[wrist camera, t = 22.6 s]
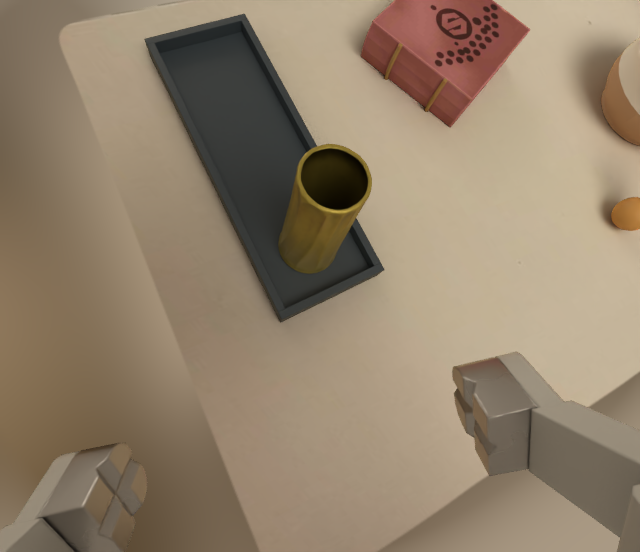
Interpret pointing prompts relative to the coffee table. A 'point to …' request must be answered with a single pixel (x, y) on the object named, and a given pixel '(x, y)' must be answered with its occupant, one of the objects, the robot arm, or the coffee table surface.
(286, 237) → the vase
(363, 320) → the coffee table surface
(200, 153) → the tray
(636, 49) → the bowl
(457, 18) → the book
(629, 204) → the figurine
